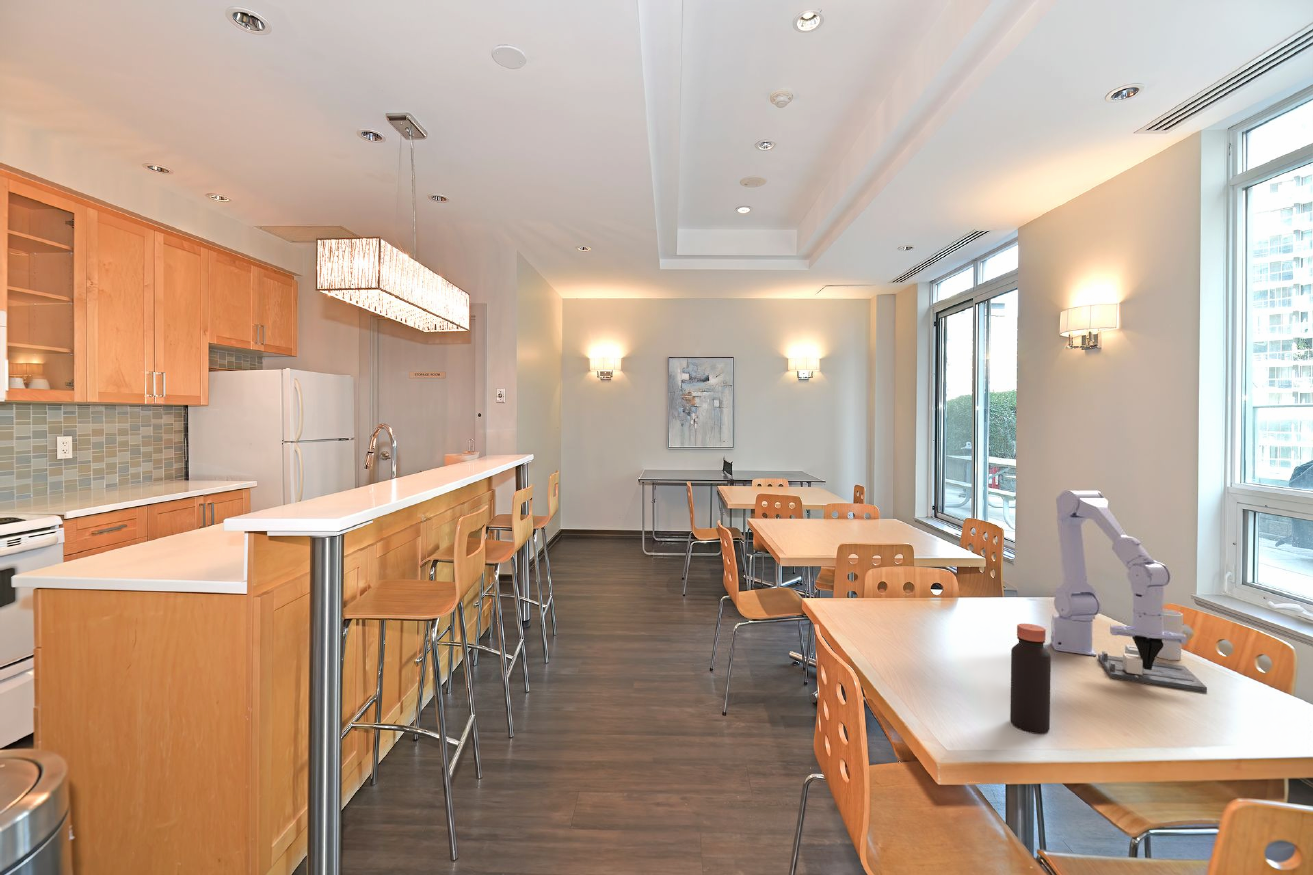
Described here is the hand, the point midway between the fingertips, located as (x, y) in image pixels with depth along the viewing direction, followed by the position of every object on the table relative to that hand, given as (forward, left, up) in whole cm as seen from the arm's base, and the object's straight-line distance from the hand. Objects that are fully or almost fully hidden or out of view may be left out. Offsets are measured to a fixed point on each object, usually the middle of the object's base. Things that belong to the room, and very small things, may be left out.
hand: (1146, 668), depth 149 cm
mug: (+9, +24, -3) cm, 26 cm away
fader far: (-1, +8, -1) cm, 8 cm away
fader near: (-3, 0, -1) cm, 3 cm away
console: (+1, +4, -3) cm, 5 cm away
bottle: (-29, -42, -3) cm, 51 cm away
